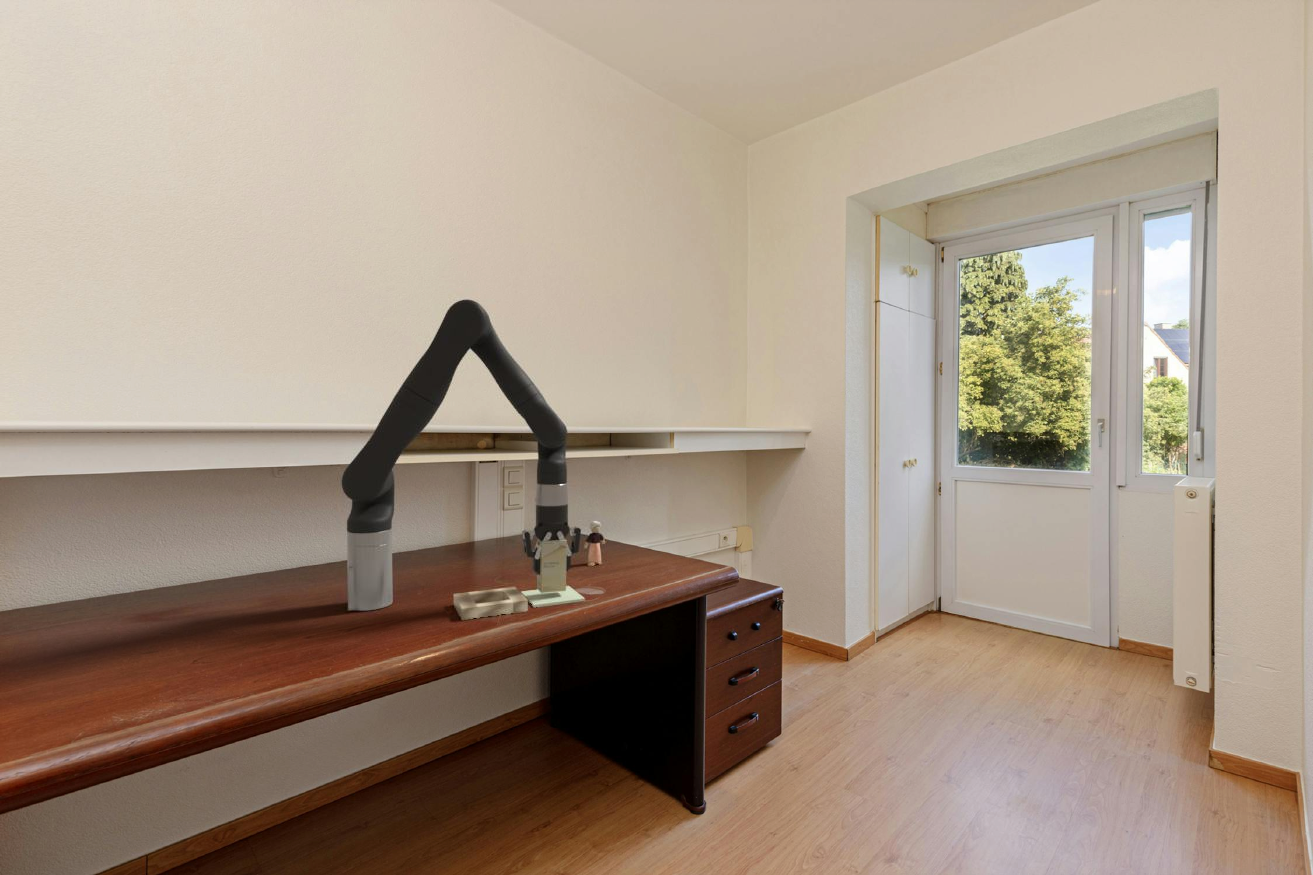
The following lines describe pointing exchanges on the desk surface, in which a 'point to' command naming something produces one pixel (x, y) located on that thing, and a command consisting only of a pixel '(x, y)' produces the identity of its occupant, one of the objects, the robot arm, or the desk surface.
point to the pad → (552, 597)
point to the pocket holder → (490, 603)
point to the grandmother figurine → (594, 544)
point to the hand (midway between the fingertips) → (551, 572)
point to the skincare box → (552, 566)
